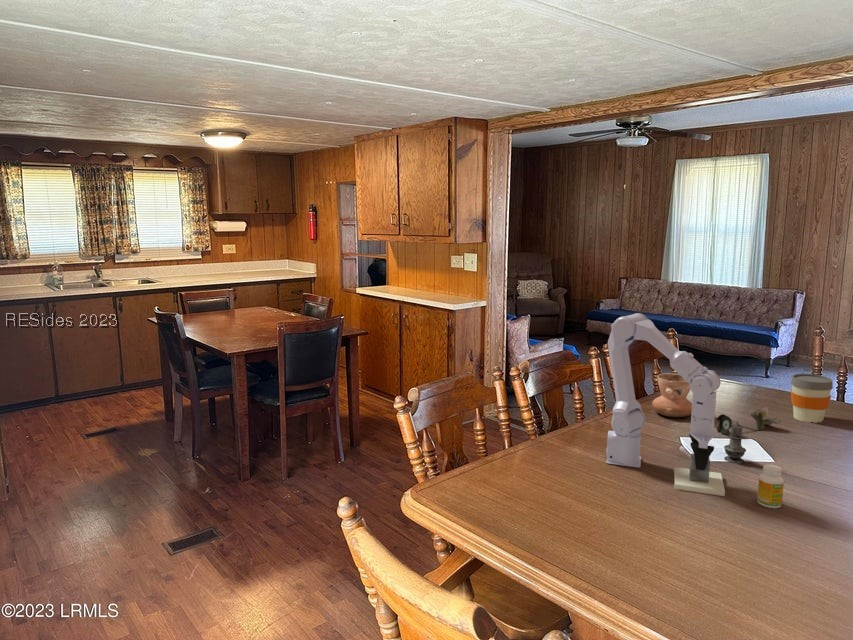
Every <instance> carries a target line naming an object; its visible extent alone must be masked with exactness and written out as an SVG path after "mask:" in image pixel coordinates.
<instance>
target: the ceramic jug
mask: <svg viewBox="0 0 853 640" xmlns="http://www.w3.org/2000/svg"><path fill="white" fill-rule="evenodd" d="M656 378H657V384H658V388H659V391H660V393H661V395H660V396H658V397H655V398H654V400H653V401H652V403H651V407H652V409H653V410H654V411H655V412H656V413H657V414H659V415H662V416H664V417H669V418H686V417H688V416H691V412H692V401H690V400H689V399H688V398H687V396H688V395H689V393H690V391H691V389H690V386H689V383H688V382H687V381H686V380H685V379H684V378H683V377H682V376H681V375H680V374H678V373H673V372H668V373H667V372H665V373H664V372H663V373H659V374H657V376H656Z"/></svg>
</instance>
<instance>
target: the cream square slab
mask: <svg viewBox="0 0 853 640" xmlns="http://www.w3.org/2000/svg"><path fill="white" fill-rule="evenodd" d="M689 471H690V468H684V467H677V466H675V467H674V468H673V473H674V474H673V476H674V477H673V478H674V480H673V481H674V483H673V484H674V490H679V491H686V492H692V493H699V494H700V493H701V494H707V495H713V496H719V497H720V496H722V497H725V495H726V494H725V493H726V490H725V486H724V481H723V480H724V479H723V476H722V472H716V471H715V472H714V471H709V483H704V482H697V481H690V475H689Z"/></svg>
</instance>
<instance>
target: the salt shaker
mask: <svg viewBox="0 0 853 640" xmlns="http://www.w3.org/2000/svg"><path fill="white" fill-rule="evenodd" d="M742 426H743V425H741V424H739V421H736V422H735V423H734V424H733V423H732V426H731V428H730V434H729V435H728V436H729V443H728V444H726V445H724V446H723V449H724V452H725V454H726V456H724V457H723V458H724V460H725V461H727V462H728V463H732V464H744V462H745V459H743V458H742V457H744V455H745V453H746V452H747V449H746V448H745V447H743V445H742V439H743V438H744V437H743V436H742V434H743V428H742Z"/></svg>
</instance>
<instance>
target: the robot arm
mask: <svg viewBox="0 0 853 640" xmlns="http://www.w3.org/2000/svg"><path fill="white" fill-rule="evenodd" d="M610 329H611V332H610V333H609V337H608V340H607V347H608V354H609V355H608V356H609V361H610V369H611V376H612V382H613V389H614V394H615V404H614V406H613V408H612V417H611V420H610V421H611V423H610V425H611V428H612V429H613V430H608V432H607V440H606V443H607V444H606V451H605V455H606V462H605V463H606V464H610V465H617V466H624V467H632V468H641V464H642V456H641V454H640V453H641V436H642V432H641V431H642V428H643V427H644V425H645V424H646V421H647V420H646V415H645V413H644V411H643V409H642V407H641V403H640V402H639V401H638V400H637V399H636V394H635V385H634V382H633V381H634V380H633V374H632V365H631V361H630V355H629V346H630V345H632V344H631V343H633V342H634V341H635V340H638V341H644V342H645V341H646V342H648V343H649V344H650V345H652V346H653V347H654V348H655V349H656V350H658V351H659V352H660V353H661V354H662V355H664V357H666V358H667V359H668V360H669V365H670V367H671V368H672V369H673V370H674V371H675V372H676V374H680V375H681V376H682V377H683V378H684V379H685V380H686V381H687V382H688V383H689V386H690V391H691V392H692V399H691V403H692V412H691V415H690V427H689V431H688V436H689V438H690V440H691V442H690V448H691V449H692V452H693V453H692V454H694V457H695V466H696V469H697V470H705V468H706V465H707V462H708V459H710V456H711V455H712V453H713V452H714V450H715V446H714V445H708V444H709V443H710V441H711V440H712V439H713V438H719V432H718V431H715V419H716V408H717V407H716V406H717V403H716V402H717V390H719V388H720V387H721V383H722V382H721V379H720V376H719V375H718V374H717V372H716V371H714V370H709V369H708V367H706V366H704V365H702V364H701V363H700V362H699V361H698V360H697V359H696V358H694V354H693V353H692V352H687V351H685V350H682V351H681V350H679V349H678V348H677V347H676V346H675V345H674V344H673V343H672V342H671V341H670V340H669V339H668V338H667V337H666V336H665V335H663V333H662V332H661V331H660V330H659V329H658V328H657V327H656V326H655V324H654V322H653V321H652V320H650V318H649V319H648V317H647V316H646V315H644V314H643V313H639V312H636V313H633V314H630V315H629V314H628V315H625V316H620V317H618V318H616V320H615V319H614V322H613V323H611V324H610Z"/></svg>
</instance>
